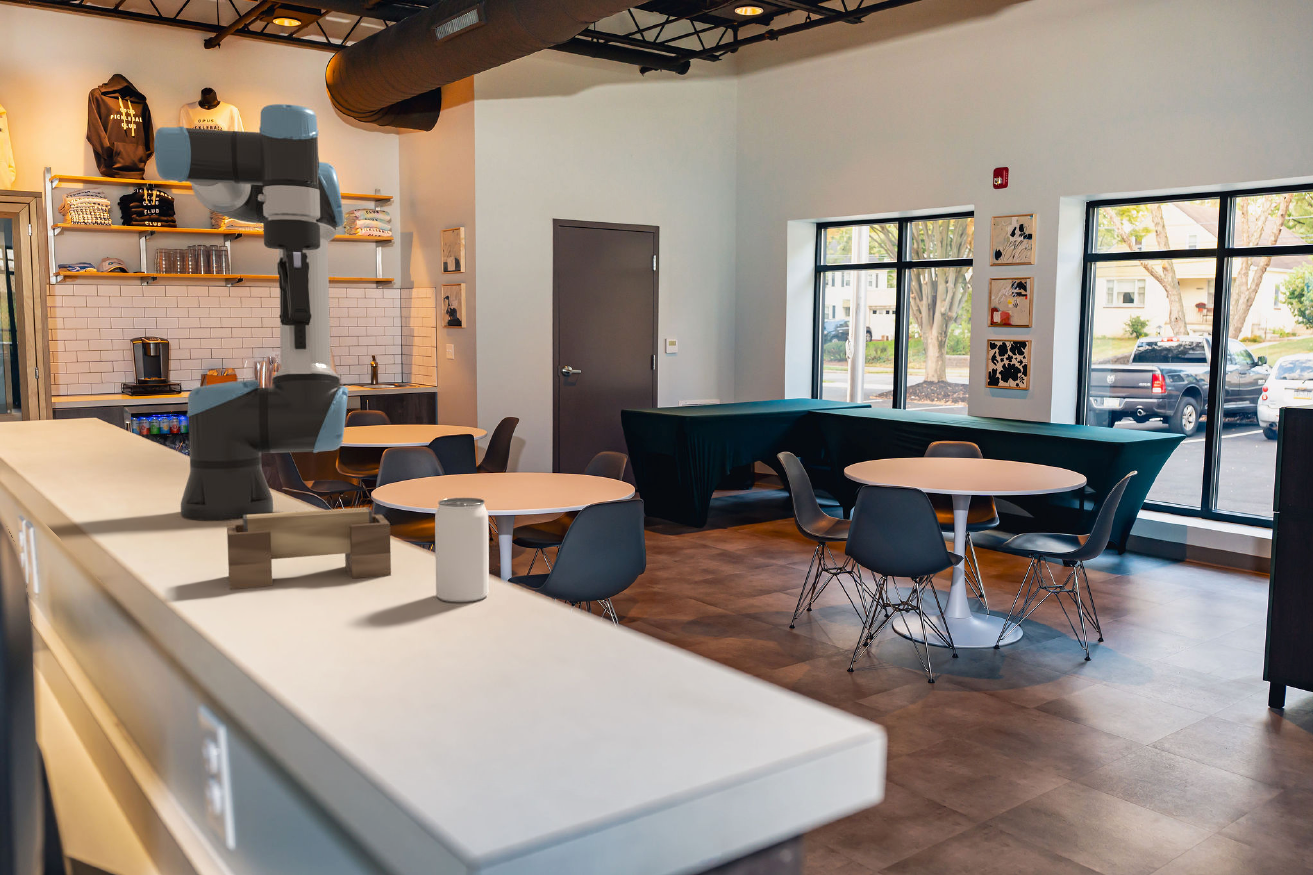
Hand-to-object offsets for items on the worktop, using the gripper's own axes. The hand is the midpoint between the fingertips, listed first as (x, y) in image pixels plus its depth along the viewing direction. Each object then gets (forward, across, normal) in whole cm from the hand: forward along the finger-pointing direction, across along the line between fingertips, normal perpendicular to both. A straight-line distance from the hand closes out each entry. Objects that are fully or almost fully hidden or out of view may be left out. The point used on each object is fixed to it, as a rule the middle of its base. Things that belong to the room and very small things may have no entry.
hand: (296, 371), depth 146 cm
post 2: (+27, +13, +8) cm, 31 cm away
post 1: (+27, +13, -8) cm, 31 cm away
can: (+27, +31, +16) cm, 44 cm away
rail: (+24, +13, 0) cm, 27 cm away
